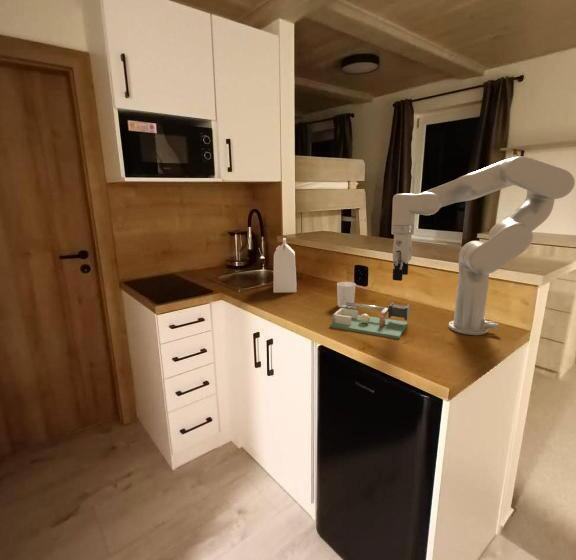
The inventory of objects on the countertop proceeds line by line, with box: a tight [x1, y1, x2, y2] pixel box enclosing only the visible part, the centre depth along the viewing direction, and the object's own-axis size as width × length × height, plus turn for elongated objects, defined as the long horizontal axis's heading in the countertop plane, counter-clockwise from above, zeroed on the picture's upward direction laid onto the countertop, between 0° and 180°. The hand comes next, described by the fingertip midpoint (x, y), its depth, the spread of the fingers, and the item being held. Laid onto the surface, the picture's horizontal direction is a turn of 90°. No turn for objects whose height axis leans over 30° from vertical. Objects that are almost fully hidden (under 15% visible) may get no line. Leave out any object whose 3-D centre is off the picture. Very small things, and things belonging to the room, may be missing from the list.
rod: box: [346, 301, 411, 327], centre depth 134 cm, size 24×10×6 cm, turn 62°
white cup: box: [336, 281, 357, 309], centre depth 155 cm, size 8×8×10 cm
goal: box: [332, 307, 359, 325], centre depth 136 cm, size 7×9×3 cm
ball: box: [360, 313, 370, 323], centre depth 133 cm, size 4×4×4 cm
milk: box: [272, 237, 298, 294], centre depth 181 cm, size 12×12×26 cm
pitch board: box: [329, 305, 409, 340], centre depth 133 cm, size 25×15×4 cm, turn 62°
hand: (400, 277), depth 130 cm, fingers open, 9 cm apart
